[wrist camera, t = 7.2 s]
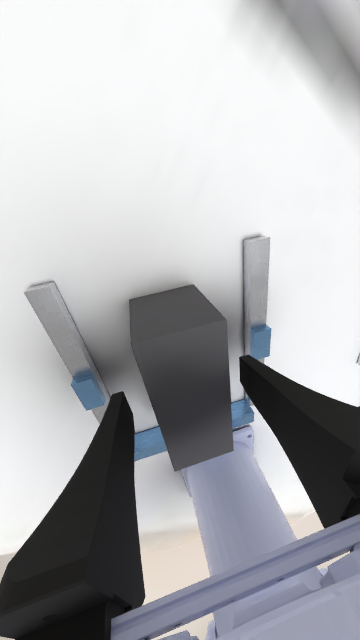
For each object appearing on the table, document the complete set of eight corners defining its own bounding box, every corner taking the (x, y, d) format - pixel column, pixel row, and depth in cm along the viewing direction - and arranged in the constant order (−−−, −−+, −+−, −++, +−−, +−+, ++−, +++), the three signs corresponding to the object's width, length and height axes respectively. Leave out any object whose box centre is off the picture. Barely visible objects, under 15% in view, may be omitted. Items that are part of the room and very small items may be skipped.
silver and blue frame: (364, 368, 21) (379, 378, 20) (119, 448, 18) (118, 466, 17) (426, 199, 14) (458, 198, 12) (30, 286, 11) (16, 297, 9)
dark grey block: (207, 393, 18) (233, 450, 13) (162, 406, 17) (174, 471, 13) (192, 283, 13) (226, 319, 9) (129, 298, 12) (130, 344, 8)
